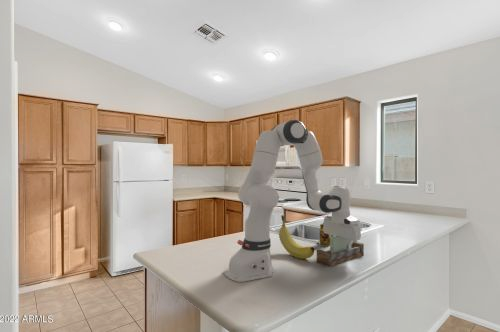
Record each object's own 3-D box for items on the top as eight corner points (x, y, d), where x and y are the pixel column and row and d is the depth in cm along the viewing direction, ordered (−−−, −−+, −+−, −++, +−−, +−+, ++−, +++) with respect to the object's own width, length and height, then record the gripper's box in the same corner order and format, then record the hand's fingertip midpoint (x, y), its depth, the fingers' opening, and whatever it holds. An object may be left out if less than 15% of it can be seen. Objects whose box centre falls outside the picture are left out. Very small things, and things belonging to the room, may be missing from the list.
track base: (328, 266, 125) (328, 253, 125) (316, 262, 131) (316, 250, 131) (363, 255, 141) (363, 243, 141) (351, 251, 147) (351, 240, 147)
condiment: (323, 246, 156) (322, 226, 156) (315, 242, 164) (315, 223, 164) (333, 245, 158) (333, 225, 158) (325, 241, 166) (325, 222, 166)
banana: (317, 261, 133) (317, 220, 133) (310, 263, 129) (309, 222, 129) (284, 250, 150) (284, 214, 150) (276, 252, 147) (276, 215, 147)
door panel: (333, 258, 131) (333, 238, 131) (330, 257, 133) (330, 237, 133) (351, 253, 139) (351, 234, 139) (347, 252, 141) (347, 233, 141)
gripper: (320, 215, 143) (320, 241, 143) (354, 222, 126) (354, 252, 126) (328, 214, 146) (328, 240, 146) (362, 220, 129) (362, 249, 129)
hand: (340, 245), depth 136 cm, fingers open, 8 cm apart
